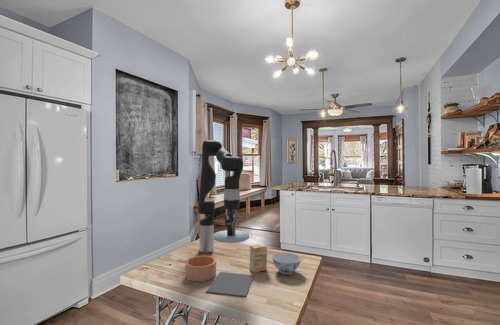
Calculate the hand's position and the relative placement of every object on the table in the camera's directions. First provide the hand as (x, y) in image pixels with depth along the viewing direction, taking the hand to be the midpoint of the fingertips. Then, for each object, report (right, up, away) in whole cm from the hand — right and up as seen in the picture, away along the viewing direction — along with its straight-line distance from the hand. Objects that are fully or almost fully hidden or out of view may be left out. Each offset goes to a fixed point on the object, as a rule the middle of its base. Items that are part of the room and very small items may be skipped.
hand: (231, 234), depth 115 cm
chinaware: (+28, -24, +14) cm, 40 cm away
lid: (0, -1, 0) cm, 1 cm away
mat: (0, -24, 0) cm, 24 cm away
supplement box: (+13, -24, +16) cm, 32 cm away
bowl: (-16, -24, +9) cm, 30 cm away
